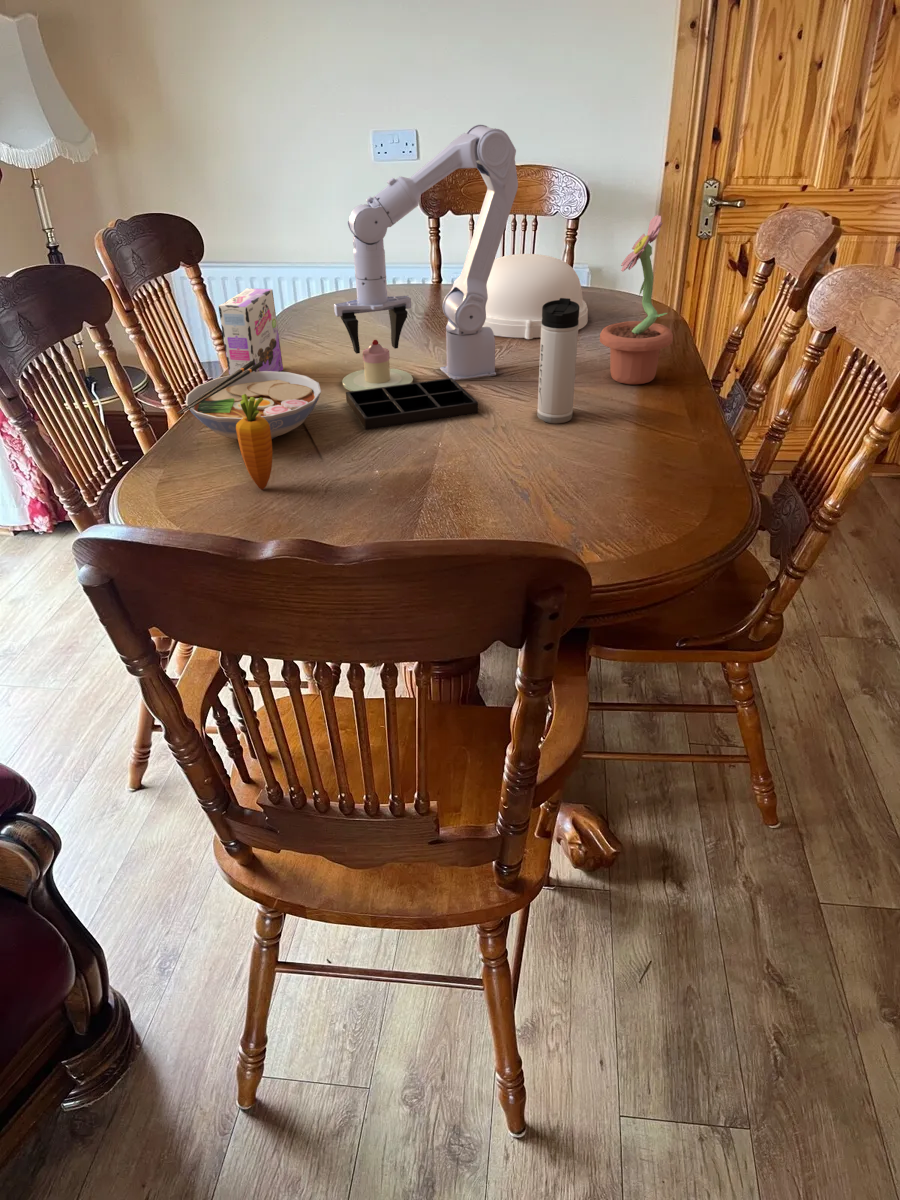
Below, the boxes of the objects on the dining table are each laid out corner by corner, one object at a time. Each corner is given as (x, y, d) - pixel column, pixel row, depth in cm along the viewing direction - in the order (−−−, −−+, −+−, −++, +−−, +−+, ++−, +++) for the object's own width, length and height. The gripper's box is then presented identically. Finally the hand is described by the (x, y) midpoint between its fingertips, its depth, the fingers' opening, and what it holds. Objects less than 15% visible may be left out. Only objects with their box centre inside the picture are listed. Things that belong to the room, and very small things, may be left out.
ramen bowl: (281, 472, 133) (274, 423, 129) (161, 453, 140) (150, 406, 136) (350, 415, 153) (346, 371, 148) (242, 401, 160) (235, 359, 155)
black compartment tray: (346, 404, 158) (345, 392, 156) (452, 389, 163) (451, 377, 162) (365, 432, 146) (364, 419, 145) (478, 415, 152) (478, 402, 151)
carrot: (248, 483, 130) (232, 389, 122) (280, 481, 131) (266, 388, 122) (244, 497, 126) (227, 401, 118) (277, 495, 127) (263, 400, 118)
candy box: (258, 392, 163) (246, 306, 154) (230, 391, 164) (216, 305, 155) (284, 369, 175) (273, 287, 165) (257, 368, 176) (245, 286, 166)
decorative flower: (598, 364, 174) (612, 206, 158) (667, 367, 172) (687, 208, 155) (594, 388, 162) (608, 221, 146) (667, 392, 160) (690, 223, 143)
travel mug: (575, 412, 152) (583, 299, 141) (568, 425, 147) (575, 309, 136) (542, 408, 154) (547, 296, 143) (533, 421, 149) (538, 306, 138)
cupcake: (386, 373, 169) (384, 334, 165) (393, 381, 165) (391, 341, 161) (361, 376, 168) (358, 337, 163) (368, 385, 164) (365, 345, 159)
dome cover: (595, 338, 189) (601, 273, 181) (462, 339, 189) (462, 274, 182) (579, 301, 215) (583, 242, 207) (463, 302, 216) (462, 244, 208)
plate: (401, 368, 174) (401, 364, 174) (422, 390, 163) (421, 385, 163) (335, 376, 170) (335, 372, 170) (352, 399, 159) (351, 395, 159)
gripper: (337, 285, 150) (344, 360, 158) (414, 277, 154) (417, 350, 162) (328, 276, 156) (336, 349, 164) (403, 269, 160) (407, 340, 167)
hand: (376, 349), depth 163 cm, fingers open, 7 cm apart
